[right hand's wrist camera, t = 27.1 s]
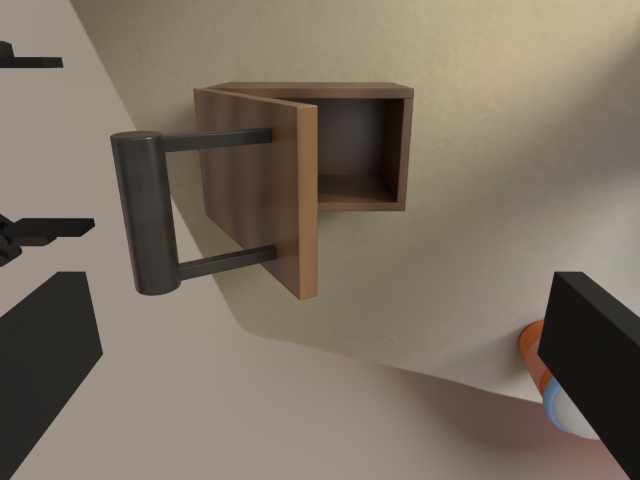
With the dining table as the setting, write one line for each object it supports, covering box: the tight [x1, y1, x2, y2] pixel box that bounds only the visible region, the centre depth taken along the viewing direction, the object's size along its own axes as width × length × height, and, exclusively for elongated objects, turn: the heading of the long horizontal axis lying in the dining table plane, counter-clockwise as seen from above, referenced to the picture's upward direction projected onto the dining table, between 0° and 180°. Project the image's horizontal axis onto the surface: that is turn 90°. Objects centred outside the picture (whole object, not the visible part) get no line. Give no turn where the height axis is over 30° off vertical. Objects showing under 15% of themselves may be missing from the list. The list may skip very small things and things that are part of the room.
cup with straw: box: [519, 320, 600, 439], centre depth 46 cm, size 9×9×18 cm
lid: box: [110, 88, 317, 300], centre depth 27 cm, size 17×10×8 cm
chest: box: [206, 82, 414, 211], centre depth 41 cm, size 16×10×11 cm, turn 90°
